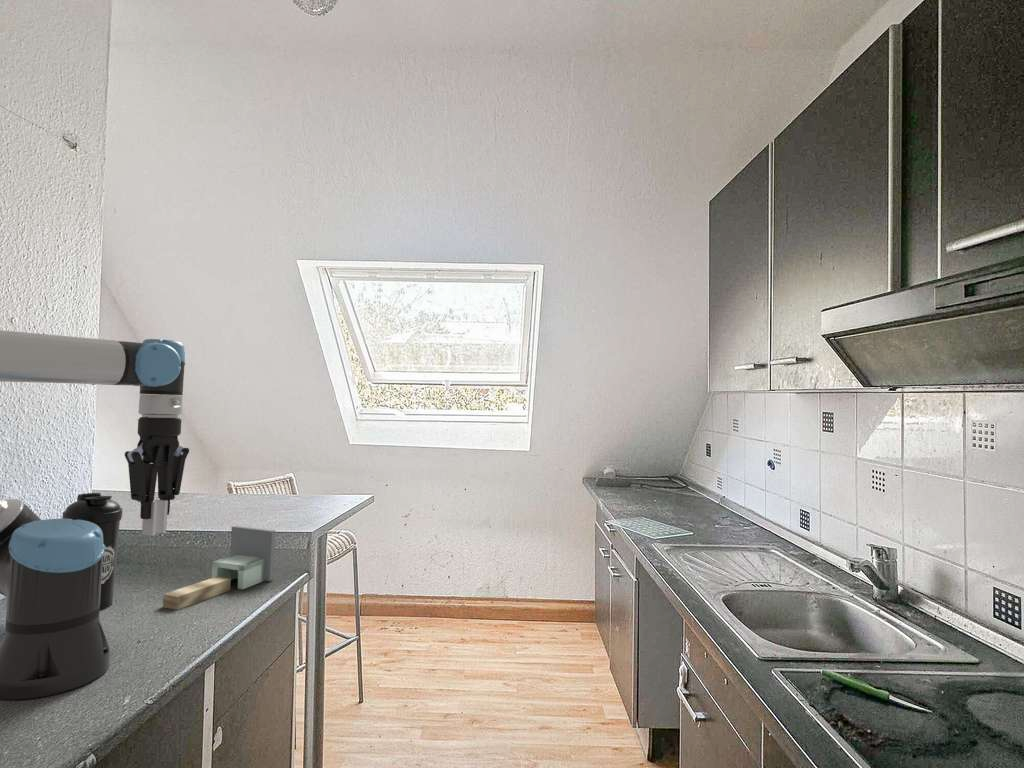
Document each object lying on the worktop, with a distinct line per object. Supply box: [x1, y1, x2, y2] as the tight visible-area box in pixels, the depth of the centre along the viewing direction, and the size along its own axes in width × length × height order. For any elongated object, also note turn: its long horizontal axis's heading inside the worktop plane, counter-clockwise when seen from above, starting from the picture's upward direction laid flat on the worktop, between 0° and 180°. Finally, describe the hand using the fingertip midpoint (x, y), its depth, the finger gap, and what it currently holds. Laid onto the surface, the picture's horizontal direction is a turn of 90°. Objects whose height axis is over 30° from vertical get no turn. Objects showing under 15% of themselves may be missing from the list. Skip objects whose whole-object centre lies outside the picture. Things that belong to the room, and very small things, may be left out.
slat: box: [162, 576, 232, 611], centre depth 129 cm, size 14×4×3 cm, turn 161°
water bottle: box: [61, 492, 123, 611], centre depth 122 cm, size 10×10×23 cm
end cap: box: [211, 525, 276, 590], centre depth 141 cm, size 8×12×12 cm
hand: (154, 533), depth 118 cm, fingers open, 2 cm apart
